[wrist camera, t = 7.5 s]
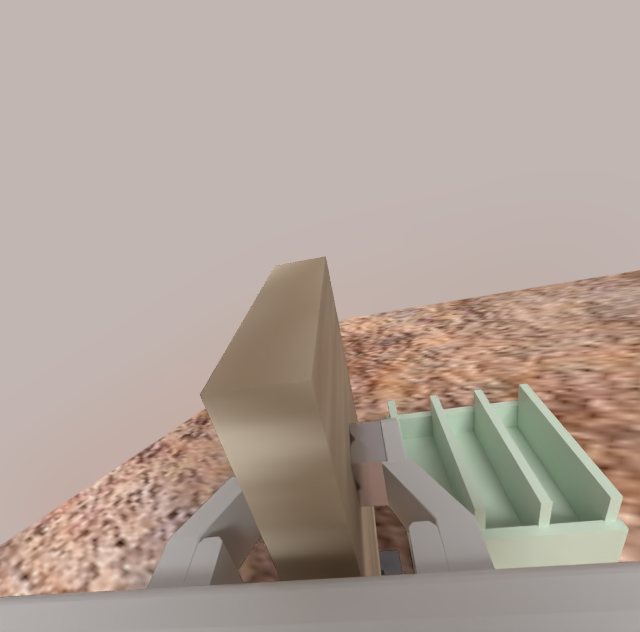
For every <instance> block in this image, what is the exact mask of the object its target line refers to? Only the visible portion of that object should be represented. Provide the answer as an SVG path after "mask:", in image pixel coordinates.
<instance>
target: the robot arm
mask: <svg viewBox="0 0 640 632" xmlns="http://www.w3.org/2000/svg"><path fill="white" fill-rule="evenodd" d="M349 430H350V437H351V444H350V452H351V466H352V470H353V475H354V480H355V481H356V483H357V494H358V498H359V502H360V506H361V507H368V506H387V505H389V507H390V509H391V510H392V511H393V513H394V514H395V515H396V517H397V518H398V519H399V521H400V522H401V523H402V525H403V526H404V527H405V529H406V530H407V531H408V533H409V534H410V541H411V549H412V556H413V564H414V572H415V574H400V575H382V576H365V577H347V578H330V579H312V580H294V581H277V582H259V583H244V582H243V580H242V578H241V576H240V574H239V572H238V570H239V568H240V567H241V565H242V564H243V562H244V561H245V559H246V558H247V556H248V555H249V553H250V552H251V550H252V549H253V547H254V546H255V544H256V543H257V541H258V540H259V538H260V536H261V533H260V531H259V529H258V526H257V524H256V522H255V520H254V517H253V515H252V513H251V510H250V508H249V506H248V504H247V501H246V499H245V497H244V494H243V492H242V490H241V488H240V485H239V483H238V481H237V478H236V476H235V477H230V478H229V479H228V480H227V481H226V482H225V483H224V484H223V485H222V486H221V487H220V488H219V489H218V490H217V491H216V492H215V493H214V494H213V495H212V496H211V497H210V498H209V499H208V500H207V501H206V502H205V503H204V504H203V505H202V506H201V507H200V508H199V509H198V510H197V511H196V512H195V513H194V514H193V515H192V516H191V517H190V518H189V519H188V520H187V521H186V522H185V523H184V524H183V525H182V526H181V527H180V528H179V529H178V530H177V531H176V532H175V533H174V534H173V535H172V536H171V537H170V538H169V540H168V542H167V545H166V547H165V549H164V551H163V553H162V556H161V558H160V560H159V562H158V565H157V567H156V569H155V571H154V574H153V576H152V578H151V580H150V583H149V585H148V587H147V589H134V590H117V591H99V592H81V593H63V594H45V595H27V596H9V597H0V632H640V561H630V562H612V563H594V564H576V565H559V566H541V567H523V568H505V569H495V568H494V565H493V563H492V560H491V557H490V555H489V552H488V550H487V547H486V544H485V542H484V539H483V537H482V534H481V531H480V529H479V526H478V524H477V521H476V519H475V516H474V515H473V514H472V513H470V512H469V511H468V510H467V509H466V508H465V507H464V506H463V505H462V504H461V503H459V502H458V501H457V500H456V499H455V498H454V497H453V496H452V495H451V494H449V493H448V492H447V491H446V490H445V489H444V488H443V487H442V486H441V485H439V484H438V483H437V482H436V481H435V480H434V479H433V478H432V477H431V476H430V475H428V474H427V473H426V472H425V471H424V470H423V469H422V468H421V467H420V466H418V465H417V464H416V463H415V462H414V461H413V460H412V459H406V456H405V451H404V447H403V443H402V439H401V434H400V430H399V426H398V421H397V419H396V418H390V419H382V420H375V421H367V422H359V423H351V424H350V425H349Z"/></svg>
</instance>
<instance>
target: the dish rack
mask: <svg viewBox="0 0 640 632" xmlns="http://www.w3.org/2000/svg"><path fill="white" fill-rule="evenodd" d="M387 402H388V409H389V416H386V419H390V418H396V419H397V421H398V426H399V430H400V434H401V439H402V443H403V447H404V451H405V456H406V459H412V460H413V461H414V462H415V463H416V464H417V465H418V466H420V467H421V468H422V469H423V470H424V471H425V472H426V473H427V474H428V475H430V476H431V477H432V478H433V479H434V480H435V481H436V482H437V483H438V484H439V485H441V486H442V487H443V488H444V489H445V490H446V491H447V492H448V493H449V494H451V495H452V496H453V497H454V498H455V499H456V500H457V501H458V502H459V503H461V504H462V505H463V506H464V507H465V508H466V509H467V510H468V511H469V512H470V513H472V514H473V515H474V516H475V519H476V521H477V524H478V526H479V529H480V531H481V534H482V537H483V539H484V542H485V544H486V547H487V550H488V552H489V555H490V557H491V560H492V563H493V565H494V568H495V569H505V568H523V567H541V566H559V565H576V564H594V563H612V562H619V559H620V556H621V553H622V550H623V546H624V543H625V540H626V537H627V534H628V531H629V529H628V528H627V526H626V525H625V524H624V523H623V521H622V520H621V519H617V516H618V512H619V509H620V505H621V502H622V498H623V496H622V495H621V494H620V493H619V491H618V490H617V489H616V488H615V487H614V486H613V484H612V483H611V482H610V481H609V480H608V479H607V477H606V476H605V475H604V474H603V473H602V471H601V470H600V469H599V468H598V467H597V466H596V464H595V463H594V462H593V461H592V460H591V459H590V457H589V456H588V455H587V454H586V453H585V452H584V450H583V449H582V448H581V447H580V446H579V444H578V443H577V442H576V441H575V440H574V439H573V437H572V436H571V435H570V434H569V433H568V432H567V430H566V429H565V428H564V427H563V426H562V424H561V423H560V422H559V421H558V420H557V419H556V417H555V416H554V415H553V414H552V413H551V412H550V410H549V409H548V408H547V407H546V406H545V405H544V403H543V402H542V401H541V400H540V399H539V397H538V396H537V395H536V394H535V393H534V392H533V390H532V389H531V388H530V387H529V386H528V385H527V384H521V385H519V394H518V400H516V401H508V402H499V403H491V404H490V403H489V401H488V399H487V398H486V396H485V395H484V393H483V392H482V390H474V406H466V407H458V408H450V409H443V408H442V405H441V403H440V401H439V398H438V396H437V395H434V396H430V404H431V411H425V412H417V413H409V414H400V415H398V413H397V409H396V405H395V401H387ZM406 531H407V530H406ZM407 536H408V541H409V546H410V552H411V557H412V562H413V556H412V549H411V541H410V534H409V533H408V531H407ZM413 567H414V564H413ZM414 573H415V572H414Z"/></svg>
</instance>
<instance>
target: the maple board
mask: <svg viewBox="0 0 640 632" xmlns="http://www.w3.org/2000/svg"><path fill="white" fill-rule="evenodd" d="M200 396H201V398H202V401H203V403H204V405H205V408H206V410H207V412H208V414H209V417H210V419H211V421H212V424H213V426H214V428H215V430H216V433H217V435H218V437H219V440H220V442H221V444H222V446H223V449H224V451H225V453H226V456H227V458H228V460H229V462H230V465H231V467H232V469H233V472H234V474H235V476H236V478H237V481H238V483H239V485H240V488H241V490H242V492H243V494H244V497H245V499H246V501H247V504H248V506H249V508H250V510H251V513H252V515H253V517H254V520H255V522H256V524H257V526H258V529H259V531H260V533H261V536H262V538H263V540H264V542H265V545H266V547H267V549H268V552H269V554H270V556H271V558H272V561H273V563H274V565H275V568H276V570H277V572H278V574H279V577H280V579H281V581H294V580H312V579H330V578H347V577H365V576H381V569H380V559H379V550H378V540H377V531H376V521H375V512H374V506H368V507H361V506H360V502H359V498H358V494H357V483H356V481H355V480H354V475H353V470H352V466H351V452H350V444H351V437H350V430H349V425H350V424H351V423H358V421H357V416H356V410H355V405H354V400H353V395H352V390H351V385H350V379H349V374H348V369H347V364H346V359H345V354H344V349H343V343H342V338H341V333H340V328H339V323H338V318H337V313H336V308H335V303H334V297H333V292H332V287H331V282H330V276H329V271H328V266H327V261H326V257H321V258H315V259H309V260H304V261H299V262H293V263H287V264H282V265H277V266H275V267H274V269H273V270H272V272H271V274H270V276H269V277H268V279H267V281H266V282H265V284H264V286H263V287H262V289H261V291H260V293H259V294H258V296H257V298H256V300H255V301H254V303H253V305H252V306H251V308H250V310H249V311H248V313H247V315H246V317H245V318H244V320H243V322H242V323H241V325H240V327H239V329H238V330H237V332H236V334H235V335H234V337H233V339H232V341H231V342H230V344H229V346H228V347H227V349H226V351H225V353H224V354H223V356H222V358H221V360H220V361H219V363H218V365H217V366H216V368H215V370H214V371H213V373H212V375H211V376H210V378H209V380H208V382H207V384H206V385H205V387H204V388H203V390H202V392H201V394H200Z"/></svg>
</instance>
